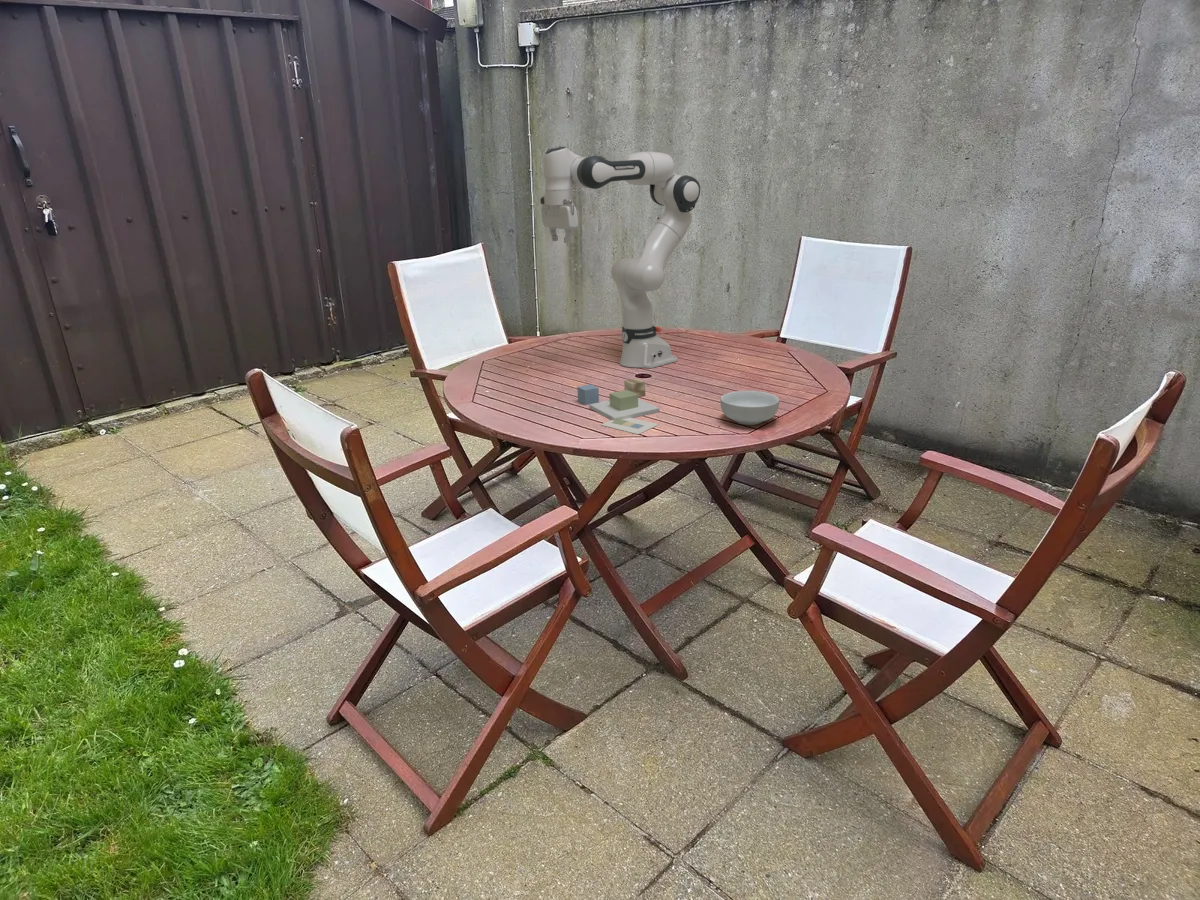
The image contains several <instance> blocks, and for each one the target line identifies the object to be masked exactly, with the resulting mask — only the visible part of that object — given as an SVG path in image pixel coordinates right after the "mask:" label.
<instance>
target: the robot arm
mask: <svg viewBox="0 0 1200 900" xmlns="http://www.w3.org/2000/svg"><path fill="white" fill-rule="evenodd" d="M544 153H545V154H544V157H543V174H544V175H543V177H544V180H545V188H544V191H545V192H544V194H543V196H541V197H540V198H539V204H540V205H541V208H540V209H541V210H540V211H541V220H542V221H541V222H542V224H543V226H544V227H547V228H549V233H550V237H551V241H552V242H558V241H559V235H558V234H557V229H560V230H564V233H565V235H564V237H563V243H564V244H570V243H571V242H572V240H571V237H572V234H573V230H577V229H578V227H579V218H578V210H577V207H576V206H575V204H574V203H573V194H572V190H573V189H572V187H574V188H583V189H584V188H585V189H586V188H589V189H593V190H598V189H601V188H603V187H605V186H606V185H607V184H609V183H613V182H622V181H625V182H626V183H627V184H629V185H634V186H649V196H650V198H651V200H652V201H653V203H655V204H656V205H659V206H662V207H663V206H664V207H665V208H664V211H663V214H662V216H661V217H660V218H659V219H658V220H657V222H656V223H655V224H654V226H653V227H652V228H651V230H649V231H650V232H649V233H647V235H646V236H645V238H644V239H643V250H642V252H641V255H640V256H639V257H638V258H637V257H635V258H634V257H628V256H627V257H622V258H619V259H617V260H616V261H615V262H614V263H613V264H612V266H611V270H610V273H611V278H612V280H613V281H614V283H615V284H616V287H617V289H618V294H619V297H620V301H621V307H622V327H621V338H622V349H621V350H622V352H621V356H620V361H619V364H620V365H621V366H623V367H627V368H643V369H644V368H645V369H646V368H647V369H652V368H653V369H654V368H656V367H661V366H663V365H668V364H672V363H675V362H678V360H679V359H678V357H677V356H676V355H674V354H672V349H671V345H670V344H669V343H668V342H667V341H665V340H664V339H663V338H662V337H660V336H659V335H657V334H658V333H661V332H662V330H663V328H662V327H660V326H658V325H657V326H654V325H653V305H652V303H651V301H650V300H649V298H648V295H647V292H654V291H657V290H659V289H660V288H661V287H662V286H663V283H664V280H665V273H664V269H665V266H666V263H667V262H668V259H669V258H670V256H671V255H672V253H673V252H674V250H675V249H676V248H677V247H678V245H679V244H680V243H681V241H682V239H684V237H685V235H686V233H687V232H688V229H689V228H690V226H691V224H692V222H693V221H692V220H693V218H692V214H691V211H693V210H694V209H695V206H696V204H697V202H698V201H699V198H700V195H701V185H700V182H699V181H698V179H696V178H695V177H693V176H691V175H688V174H687V175H685V174H684V175H682V174H676V172H675V168H676V167H675V166H676V165H675V161H674V159H673V158H672V156H671V155H669V154H668V153H664V152H660V151H659V152H658V151H637V152H633V153H630V154H628V155H626V157H625V158H624V160H609V159H606V158H603V157H602V156H599V155H590V156H580V155H578V154H576V153H574V152H573V151H572V150H570V149H569V148H568V147H567V146H555V147H552V148H550V149H548V150H547V151H546V152H544Z"/></svg>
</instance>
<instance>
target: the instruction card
mask: <svg viewBox="0 0 1200 900" xmlns="http://www.w3.org/2000/svg"><path fill="white" fill-rule="evenodd" d="M600 426H603V427H606V428H610V429H615V430H617V431H622V432H626V433H629V434H634V435H640V434H642V433H644V432H647V431H649V430H651V429H653V428H655V427H658V426H659V423H655V422H650V421H646V420H643V419H638V418H635V417H634V418H627V419H623V420H617V421H614V420H611V419H609V420H608V421H606V422H604V423H602V424H601V423H600Z"/></svg>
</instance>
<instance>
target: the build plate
mask: <svg viewBox="0 0 1200 900" xmlns="http://www.w3.org/2000/svg"><path fill="white" fill-rule="evenodd" d="M608 398H609V400H604V401H599V403H594V404H589V405H588V407H589V409H590V410H593V411H594V412H596V413H598V414H599V415H601V416H603V417H605V418H607V419H608V420H614V421H617V420H623V419H627V418H634V419H635V418H639V417H643V416H647V415H652V414H656V413H660V407H659V406H655V405H653V404H651V403H649V402H648V401H645V400H643V399H640V398H639V397H638V395H637V394H635V393H633V392H631V391H628V390H620V391H614V392H611V393H609V397H608Z"/></svg>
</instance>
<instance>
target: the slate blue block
mask: <svg viewBox="0 0 1200 900" xmlns="http://www.w3.org/2000/svg"><path fill="white" fill-rule="evenodd" d="M599 391H600V390H599V387H597V386H595V385H593V384H591V383H590V384H586V385H585V384H584V385H580V386H577V402H578V403H581V404H582V405H584V406H589V404H594V403H599V402H600V398H599V397H600V396H599Z"/></svg>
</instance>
